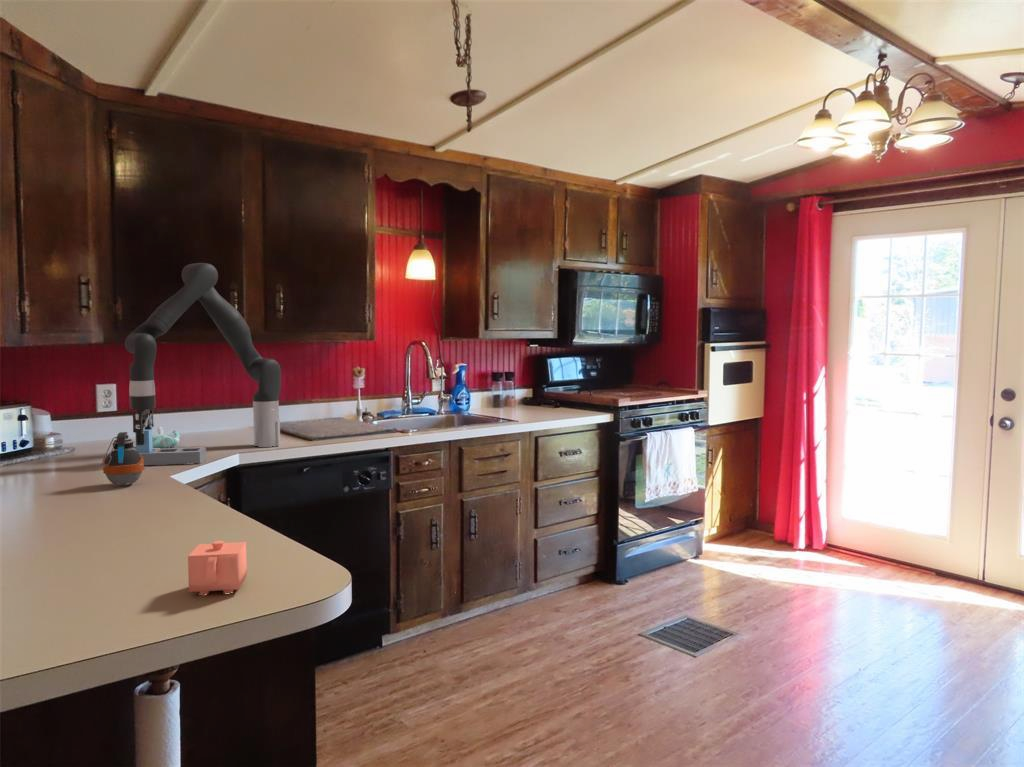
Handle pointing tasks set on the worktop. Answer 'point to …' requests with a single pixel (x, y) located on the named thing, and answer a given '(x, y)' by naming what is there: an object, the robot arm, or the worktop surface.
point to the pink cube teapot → (217, 567)
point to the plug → (146, 442)
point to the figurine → (164, 439)
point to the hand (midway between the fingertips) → (144, 443)
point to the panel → (174, 456)
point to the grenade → (123, 462)
